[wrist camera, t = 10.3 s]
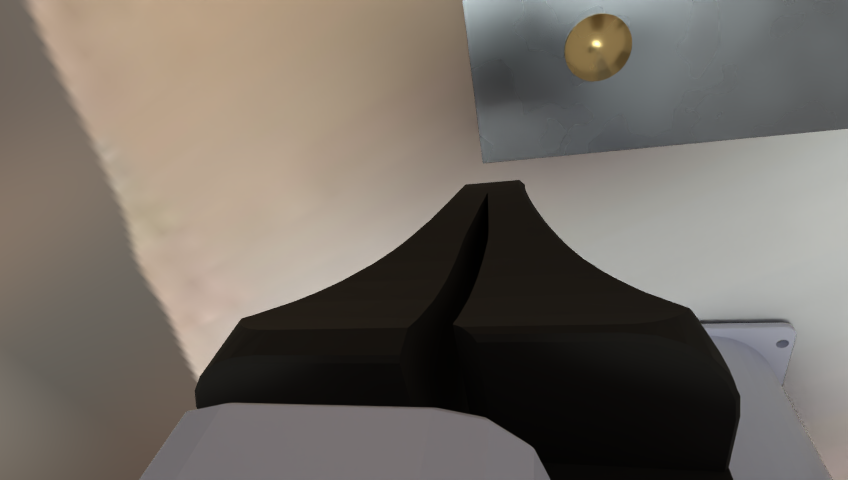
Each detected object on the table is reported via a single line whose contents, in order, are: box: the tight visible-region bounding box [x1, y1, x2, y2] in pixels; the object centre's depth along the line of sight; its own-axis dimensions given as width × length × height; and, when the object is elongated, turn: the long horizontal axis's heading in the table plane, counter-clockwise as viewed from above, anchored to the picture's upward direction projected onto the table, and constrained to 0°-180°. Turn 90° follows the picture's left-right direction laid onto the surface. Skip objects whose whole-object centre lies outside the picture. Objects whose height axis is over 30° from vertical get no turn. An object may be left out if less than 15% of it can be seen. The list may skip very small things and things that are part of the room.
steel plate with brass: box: [463, 0, 848, 163], centre depth 15 cm, size 7×20×3 cm, turn 101°
